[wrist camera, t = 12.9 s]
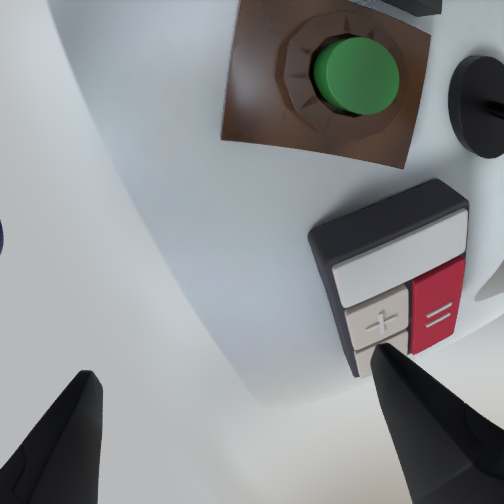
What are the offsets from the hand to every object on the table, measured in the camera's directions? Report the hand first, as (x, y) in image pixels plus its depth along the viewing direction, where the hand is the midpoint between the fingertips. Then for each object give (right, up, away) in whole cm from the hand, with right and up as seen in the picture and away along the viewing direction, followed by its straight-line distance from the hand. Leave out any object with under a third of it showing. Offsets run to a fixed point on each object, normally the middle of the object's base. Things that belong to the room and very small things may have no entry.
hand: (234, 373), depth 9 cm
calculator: (+12, +1, +15) cm, 19 cm away
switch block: (+5, +14, +6) cm, 16 cm away
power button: (+5, +12, +4) cm, 14 cm away
